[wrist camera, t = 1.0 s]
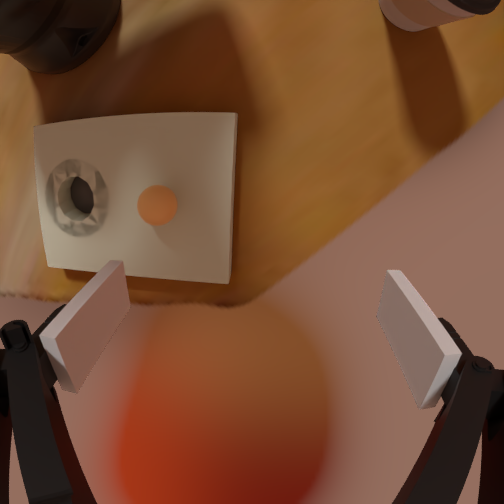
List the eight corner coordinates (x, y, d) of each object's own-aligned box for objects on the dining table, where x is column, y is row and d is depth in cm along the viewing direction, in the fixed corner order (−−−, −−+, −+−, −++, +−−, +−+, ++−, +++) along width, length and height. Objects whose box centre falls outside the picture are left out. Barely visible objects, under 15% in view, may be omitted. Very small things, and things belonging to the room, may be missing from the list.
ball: (144, 181, 31) (129, 189, 28) (182, 181, 31) (170, 189, 27) (146, 218, 33) (132, 230, 29) (182, 220, 33) (171, 232, 29)
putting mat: (47, 124, 32) (33, 126, 29) (237, 113, 31) (235, 112, 28) (59, 257, 38) (48, 266, 36) (231, 272, 38) (228, 284, 35)
